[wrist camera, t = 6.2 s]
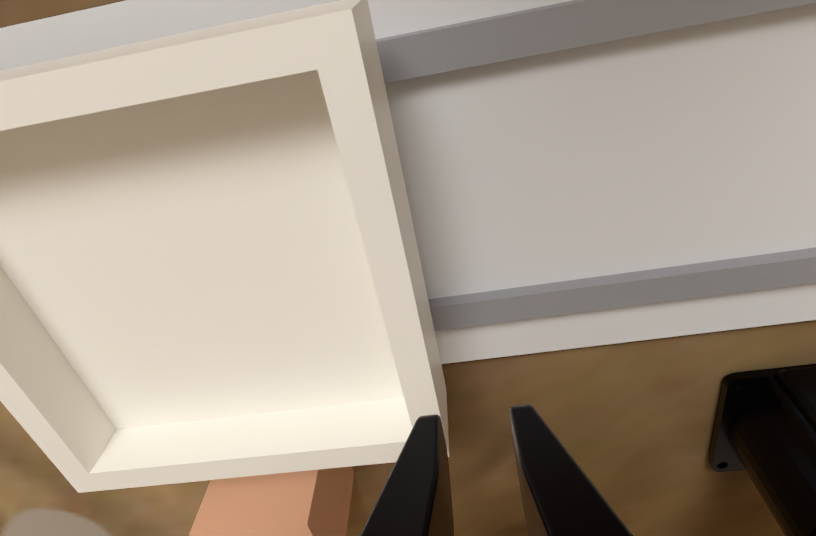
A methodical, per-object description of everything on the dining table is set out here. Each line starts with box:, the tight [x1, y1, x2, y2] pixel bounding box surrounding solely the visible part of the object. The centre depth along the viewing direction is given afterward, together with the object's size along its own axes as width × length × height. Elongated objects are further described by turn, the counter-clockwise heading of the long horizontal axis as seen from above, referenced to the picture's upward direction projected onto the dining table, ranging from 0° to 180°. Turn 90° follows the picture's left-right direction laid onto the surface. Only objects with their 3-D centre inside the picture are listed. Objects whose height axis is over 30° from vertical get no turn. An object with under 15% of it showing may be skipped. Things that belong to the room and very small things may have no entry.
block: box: [189, 466, 354, 536], centre depth 25 cm, size 5×5×6 cm
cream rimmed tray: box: [0, 0, 449, 493], centre depth 17 cm, size 14×14×5 cm
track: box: [0, 0, 816, 364], centre depth 18 cm, size 16×34×2 cm, turn 100°
